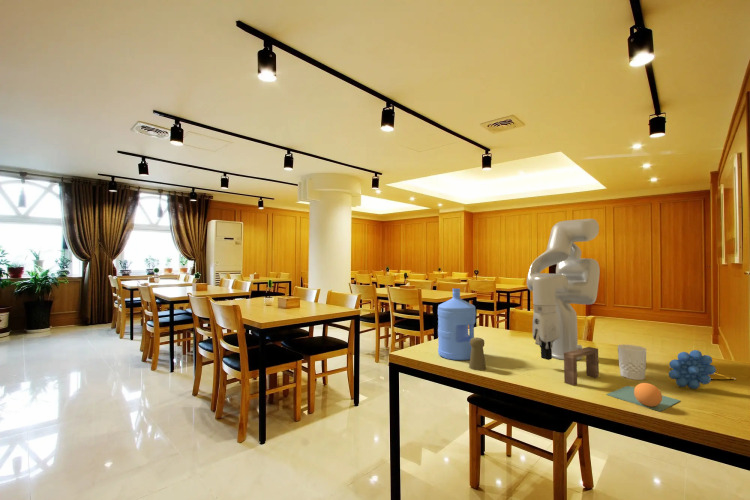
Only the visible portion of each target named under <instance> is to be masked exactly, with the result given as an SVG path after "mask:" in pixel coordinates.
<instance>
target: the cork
mask: <svg viewBox="0 0 750 500" xmlns="http://www.w3.org/2000/svg"><path fill="white" fill-rule="evenodd" d="M470 345H471V347H472V348H471V356H470V359H469V364H468V365H469V367H468V368H469V369H471V370H473V371H485V370H486V369H487V367H486V366H487V365H486V360H485V353H484V346H485V340H484V339H483V338H482V337H481V338H480V337H474V338H472V339H471V340H470Z"/></svg>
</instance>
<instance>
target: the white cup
mask: <svg viewBox="0 0 750 500" xmlns="http://www.w3.org/2000/svg"><path fill="white" fill-rule="evenodd" d="M617 355H618V357H617V358H618V366H619V373H620V376H621V377H623V378H625V377H626V379H630V380H635V381H643V380H645V379H646V370H647V369H646V368H647V348H646V347H643V346H640V345H635V344H618V345H617Z"/></svg>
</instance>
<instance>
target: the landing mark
mask: <svg viewBox="0 0 750 500" xmlns="http://www.w3.org/2000/svg"><path fill="white" fill-rule="evenodd" d="M634 389H635V387H634V386H631V385H626V386H622V387H621V388H618V389H616V390H613V391H611V392H609V393H606V396H609V397H612V398H616V399H618V400H622V401H623V402H624V401H625V402H627V403H631V404H633V405H634V404H635V405H637V406H641V407H644V408H648V409H651V410H653V411H657V412H660V411H661V412H663V411H665V410H666V409H668V408H670V407H672V406H674V405H676V404H677V403H680V402H681V400H680V399H677V398H673V397H670V396H666V395H662V401H661V403H660V404H659V405H657V406H654V407H649V406H645V405H643V404H641V403H640V402H639V401H638V400H637V399H636V397H635V395H634Z"/></svg>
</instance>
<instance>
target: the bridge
mask: <svg viewBox="0 0 750 500" xmlns="http://www.w3.org/2000/svg"><path fill="white" fill-rule="evenodd" d="M578 357H582V358H583V357H585V365H586V366H585V367H586V369H585V370H586V373H585V374H586V377H590V378H593V379H599V378H600V372H599V371H600V368H599V348H598V347H597V348H596V347H591V346H586V347H582V349H578V350H573V351H569V352H565V353H564V360H563V371H564V372H563V373H564V374H563V375H564V377H563V378H564V379H563V381H564V383H565V384H567V385H570V386H577V385H578V365H577V364H578V360H577V358H578Z"/></svg>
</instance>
